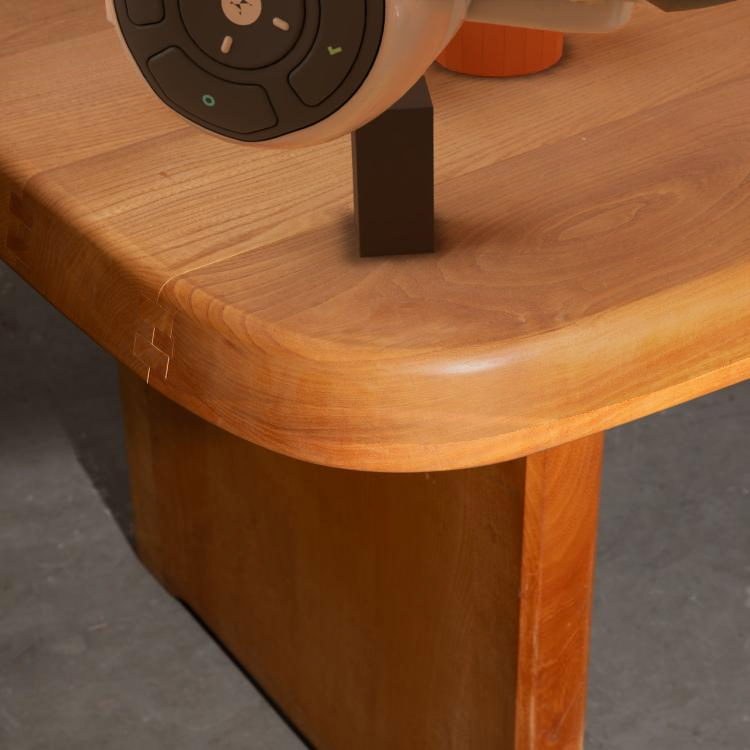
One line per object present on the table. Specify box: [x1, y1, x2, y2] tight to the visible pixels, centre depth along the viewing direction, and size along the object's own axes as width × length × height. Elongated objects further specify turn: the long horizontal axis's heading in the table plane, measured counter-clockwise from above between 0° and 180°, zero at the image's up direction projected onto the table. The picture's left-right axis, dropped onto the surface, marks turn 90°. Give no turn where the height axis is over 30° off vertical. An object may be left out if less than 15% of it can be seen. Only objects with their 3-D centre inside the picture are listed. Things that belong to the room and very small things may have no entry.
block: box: [350, 75, 435, 258], centre depth 77 cm, size 4×4×9 cm
